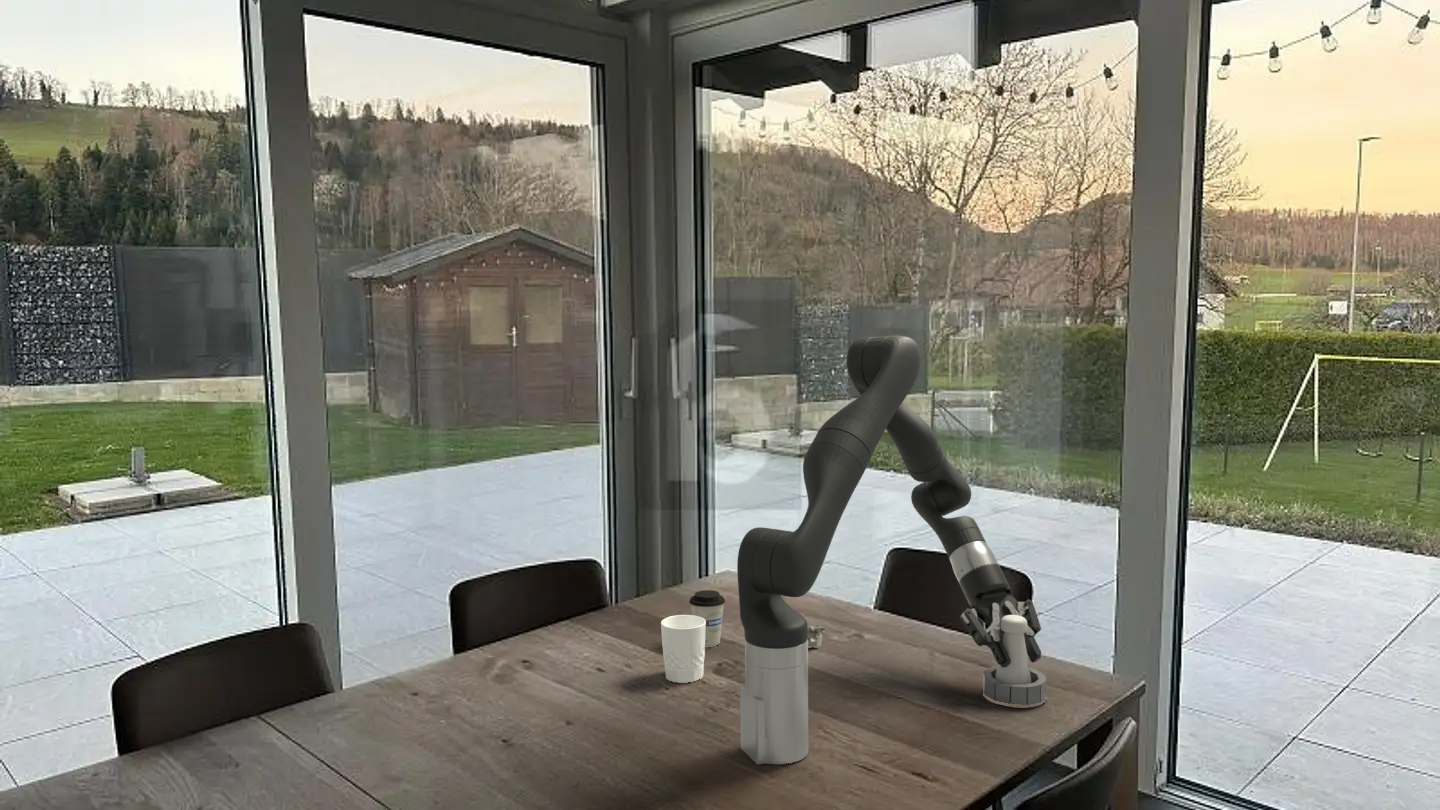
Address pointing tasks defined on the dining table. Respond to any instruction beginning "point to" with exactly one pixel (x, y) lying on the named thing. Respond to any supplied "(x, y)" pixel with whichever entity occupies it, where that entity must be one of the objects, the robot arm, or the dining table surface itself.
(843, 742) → the dining table surface
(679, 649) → the white cup
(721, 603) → the coffee cup
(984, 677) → the bowl
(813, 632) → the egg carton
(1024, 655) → the salt shaker
